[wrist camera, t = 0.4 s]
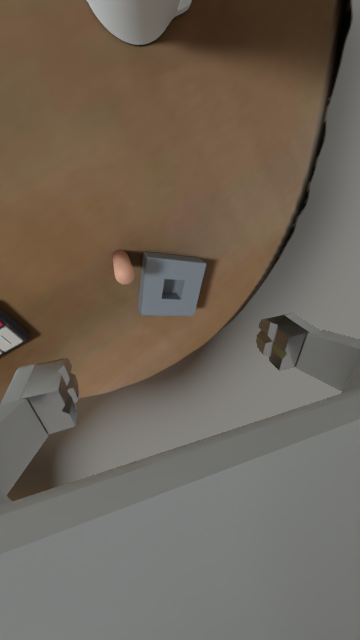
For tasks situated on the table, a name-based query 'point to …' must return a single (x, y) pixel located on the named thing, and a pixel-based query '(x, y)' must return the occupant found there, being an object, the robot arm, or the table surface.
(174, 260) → the socket block
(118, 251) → the peg
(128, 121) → the table surface
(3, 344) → the black white red box
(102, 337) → the table surface
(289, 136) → the table surface
